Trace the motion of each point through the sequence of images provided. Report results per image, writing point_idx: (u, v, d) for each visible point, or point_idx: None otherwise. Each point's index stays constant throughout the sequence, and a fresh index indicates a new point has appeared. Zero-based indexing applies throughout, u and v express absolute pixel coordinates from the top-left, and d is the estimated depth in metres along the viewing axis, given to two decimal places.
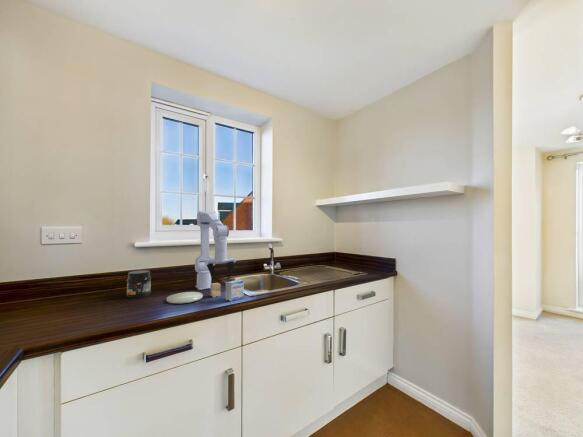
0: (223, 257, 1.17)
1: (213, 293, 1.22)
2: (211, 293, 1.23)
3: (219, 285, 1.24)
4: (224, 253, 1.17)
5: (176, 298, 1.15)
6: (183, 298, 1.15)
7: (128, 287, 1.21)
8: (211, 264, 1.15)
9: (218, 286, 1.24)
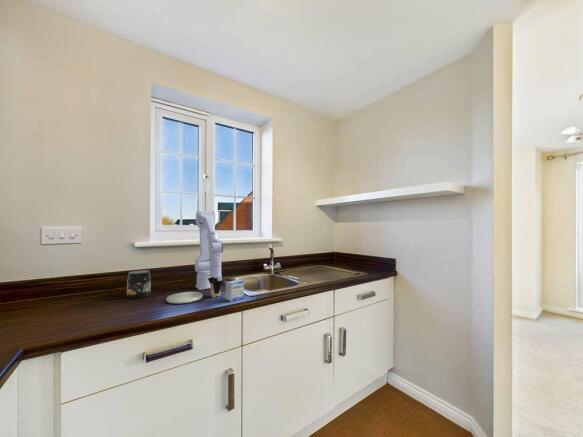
0: (210, 272, 1.23)
1: (213, 293, 1.22)
2: (211, 293, 1.23)
3: None
4: (210, 269, 1.23)
5: (176, 298, 1.15)
6: (183, 298, 1.15)
7: (128, 287, 1.21)
8: (211, 276, 1.28)
9: None
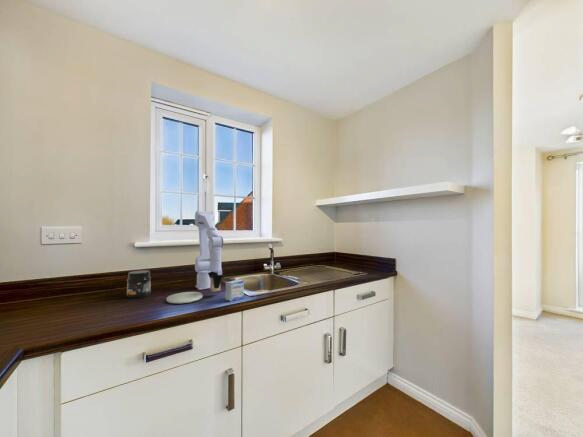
0: (210, 266, 1.23)
1: (213, 287, 1.22)
2: (211, 287, 1.23)
3: None
4: (210, 263, 1.23)
5: (176, 298, 1.15)
6: (183, 298, 1.15)
7: (128, 287, 1.21)
8: (211, 271, 1.28)
9: None
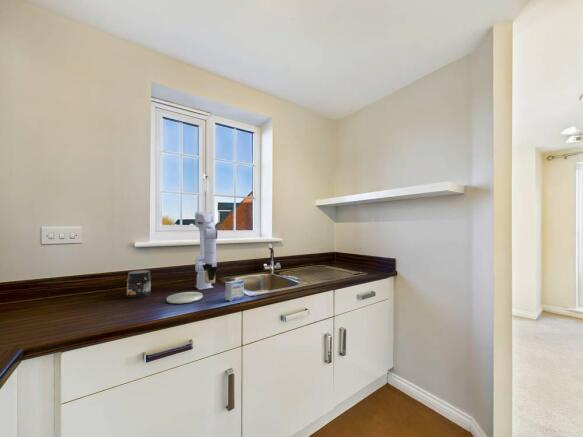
0: (204, 258, 1.22)
1: (208, 279, 1.21)
2: (206, 279, 1.22)
3: None
4: (205, 255, 1.22)
5: (176, 298, 1.15)
6: (183, 298, 1.15)
7: (128, 287, 1.21)
8: (205, 263, 1.27)
9: None
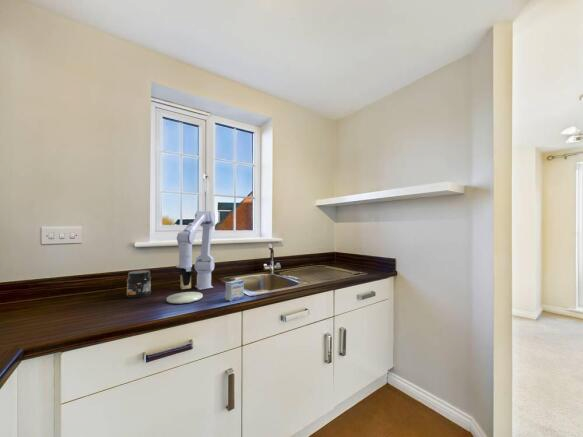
0: (179, 262, 1.17)
1: (183, 284, 1.16)
2: (181, 284, 1.17)
3: None
4: (180, 259, 1.17)
5: (176, 298, 1.15)
6: (183, 298, 1.15)
7: (128, 287, 1.21)
8: (181, 268, 1.22)
9: None
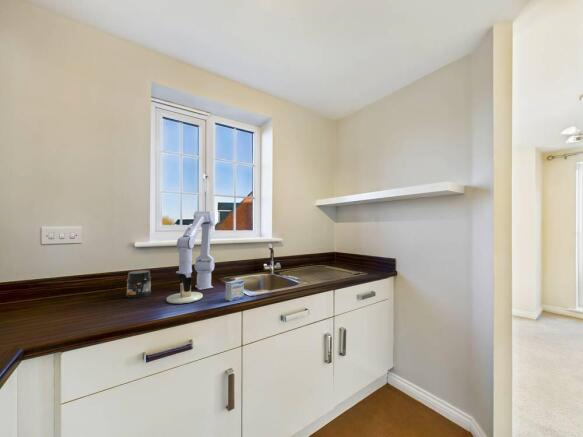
0: (179, 268, 1.17)
1: (183, 293, 1.16)
2: (181, 293, 1.17)
3: None
4: (180, 265, 1.17)
5: (176, 298, 1.15)
6: (183, 298, 1.15)
7: (128, 287, 1.21)
8: None
9: None
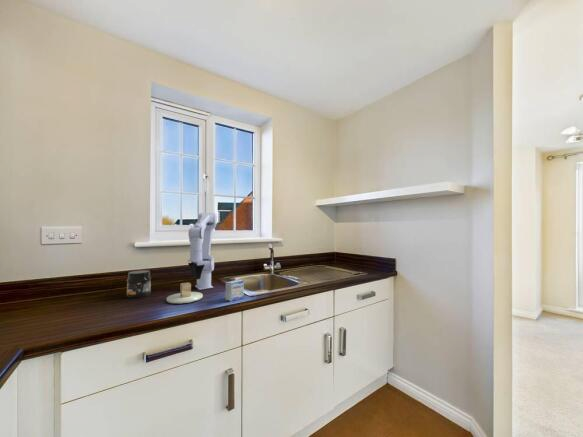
0: (190, 257, 1.23)
1: (183, 293, 1.16)
2: (181, 293, 1.17)
3: (189, 285, 1.18)
4: (191, 254, 1.22)
5: (176, 298, 1.15)
6: (183, 298, 1.15)
7: (128, 287, 1.21)
8: (192, 262, 1.28)
9: (188, 286, 1.18)
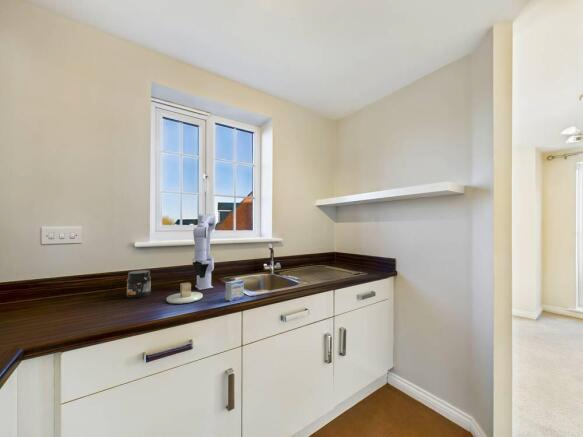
0: None
1: (183, 293, 1.16)
2: (181, 293, 1.17)
3: (189, 285, 1.18)
4: (195, 253, 1.25)
5: (176, 298, 1.15)
6: (183, 298, 1.15)
7: (128, 287, 1.21)
8: (196, 261, 1.30)
9: (188, 286, 1.18)
